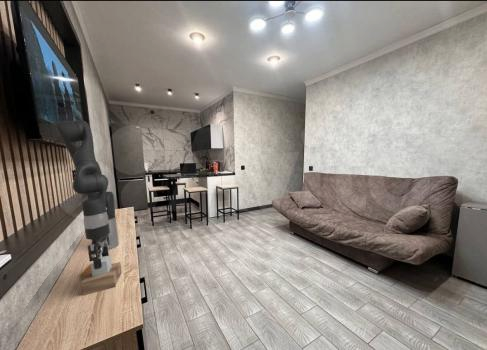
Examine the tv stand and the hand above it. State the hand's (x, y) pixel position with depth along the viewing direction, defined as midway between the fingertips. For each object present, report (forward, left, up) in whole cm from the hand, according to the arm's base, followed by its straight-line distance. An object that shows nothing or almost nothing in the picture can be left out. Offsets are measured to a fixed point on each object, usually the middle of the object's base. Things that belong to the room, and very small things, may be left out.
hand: (102, 262), depth 72 cm
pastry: (-11, -7, -9) cm, 16 cm away
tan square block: (0, 0, -9) cm, 9 cm away
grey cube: (0, 0, -4) cm, 4 cm away
